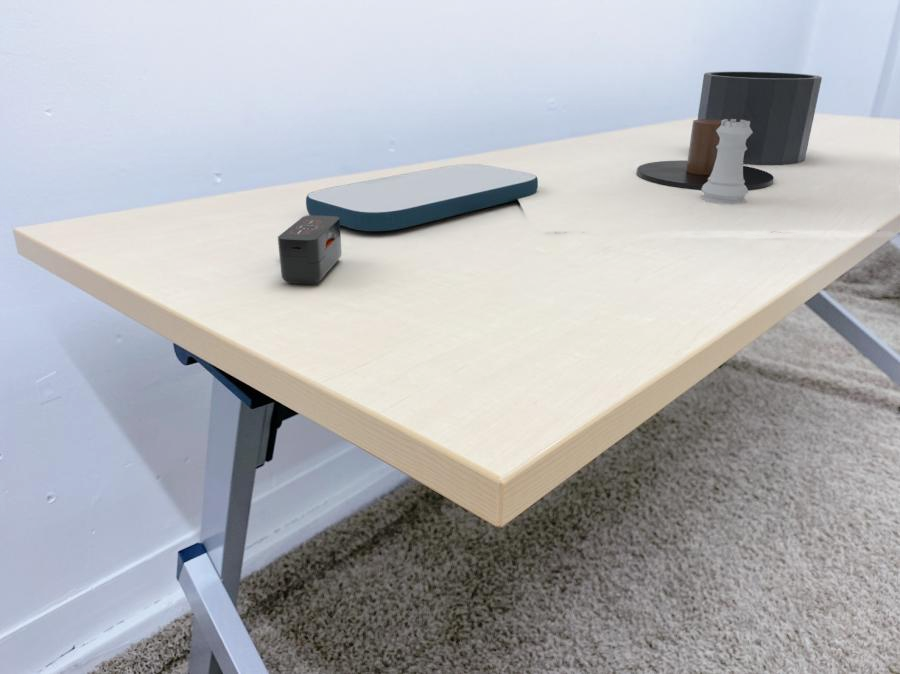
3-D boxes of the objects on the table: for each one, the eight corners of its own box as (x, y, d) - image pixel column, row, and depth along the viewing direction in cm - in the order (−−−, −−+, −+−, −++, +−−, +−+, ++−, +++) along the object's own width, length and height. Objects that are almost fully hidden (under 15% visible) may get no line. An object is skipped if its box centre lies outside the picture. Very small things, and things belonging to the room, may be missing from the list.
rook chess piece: (721, 212, 67) (735, 124, 64) (688, 201, 71) (700, 119, 68) (756, 207, 69) (772, 122, 66) (722, 197, 73) (736, 117, 69)
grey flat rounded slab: (373, 241, 58) (372, 217, 57) (293, 215, 65) (291, 194, 64) (550, 196, 73) (551, 176, 72) (468, 179, 80) (468, 161, 80)
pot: (773, 151, 100) (788, 71, 95) (823, 169, 87) (843, 79, 83) (678, 151, 99) (689, 71, 95) (714, 169, 87) (729, 78, 82)
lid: (739, 169, 87) (749, 113, 84) (796, 196, 74) (810, 130, 71) (621, 169, 86) (627, 113, 84) (657, 196, 73) (666, 130, 70)
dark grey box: (346, 255, 54) (344, 213, 53) (319, 287, 48) (315, 240, 46) (287, 252, 55) (284, 211, 53) (252, 284, 48) (247, 237, 47)
